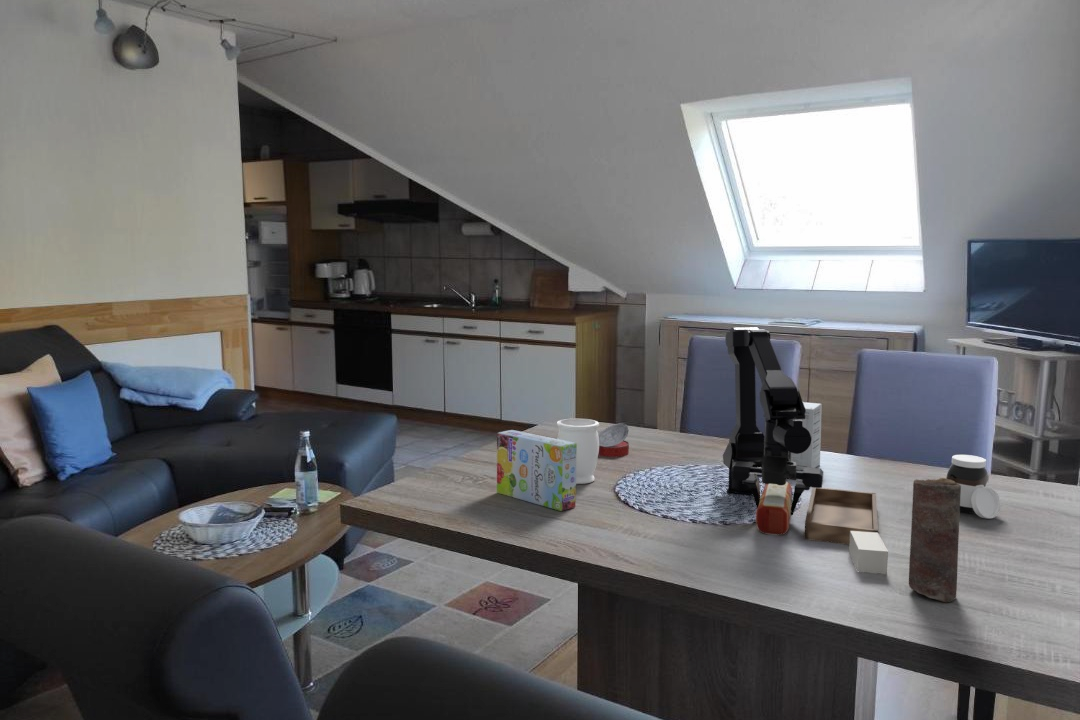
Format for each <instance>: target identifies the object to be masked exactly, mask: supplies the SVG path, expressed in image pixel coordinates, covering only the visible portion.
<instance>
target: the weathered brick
mask: <svg viewBox="0 0 1080 720" xmlns="http://www.w3.org/2000/svg"><path fill="white" fill-rule="evenodd" d="M912 486H913V487H912V505H911V506H912V509H911V510H912V511H911V513H912V514H911V529H910V531H911V532H910V547H909V550H910V551H909V562H908V563H909V567H908V570H909V571H908V586H909V588H910V589H911V590H913V591H916V592H917V593H918V594H920V595H923V596H925V597H927V598H929V599H933V600H936V601H940V602H941V603H942V602H943V603H951V602H953V601H954V600H955V599H956V598H957V589H958V585H957V584H958V564H959V563H958V561H959V560H958V559H959V539H960V538H959V536H960V535H959V534H960V518H961V517H960V514H961V512H960V495H961V485H960V484H958V483H955V481H952V480H950V479H946V477H940V478H937V479H914V480H913V483H912Z"/></svg>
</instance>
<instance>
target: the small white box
mask: <svg viewBox="0 0 1080 720" xmlns="http://www.w3.org/2000/svg"><path fill="white" fill-rule="evenodd" d="M848 546H849V547H848V553H849V555H851V556H850V558H851V560H852V562H854V563H853V565H854V568H855V570H856V569H857V570H856V572H857V571H859V572H858V573H864V572H870V573H869V574H877V573H883V574H882V575H888V563H889V562H888V561H889V550H888V549H887V547H886V545H885V543H884V541H883V539H882V538H881V535H880V534H879V532H878V533H875V532H861V531H850V543H849V545H848ZM884 573H885V574H884Z"/></svg>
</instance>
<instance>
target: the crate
mask: <svg viewBox="0 0 1080 720" xmlns="http://www.w3.org/2000/svg"><path fill="white" fill-rule="evenodd" d="M877 503H878V502H877V493H876V492H870V491H869V492H868V491H858V490H849V489H837V488H829V487H822V488H815V487H811V493H810V497H809V502H808V507H807V511H806V516H805V521H804V533H803V534H804V537H803V539H804V540H809V541H817V542H824V543H832V544H840V545H848V544H849V543H850V531H861V532H875V533H878V534H879V525H878V523H879V522H878V506H877Z"/></svg>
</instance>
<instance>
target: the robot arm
mask: <svg viewBox="0 0 1080 720" xmlns="http://www.w3.org/2000/svg"><path fill="white" fill-rule="evenodd" d="M725 345H726V347H727V354H728V356H729V357H730V359H731V360H732V363H733V364H734V376H735V380H734V381H735V383H734V384H735V385H734V388H735V389H734V390H735V426H734V427H733V429H732V431H731V433H730V434H729V439H728V443H727V446H726V448H725V450H724V452H723V454H722V463H723V465H724V466H726V467H727V468H728V483H727V484H728V486H727V487H728V488H727V489H726V492H727V493H731V492H736V493H735V494H740V493H746V494H745V495H750V494H753V495H752V497H753V499H754V504H755V507H756V509H757V508H758V506H759V503H760V499H761V490H760V489H761V487H760V486H761V484H760V477H761V482H762V484H764V485H765V484H777V485H785V484H786V482H787V480H792V481H796V482H795V485H794V490H793V494H792V504H791V514H790V516H793V515H794V513H795V510H796V507H797V505H798V502H799V500H800V498H801V497H802V494H803V493H804V491H809V490H810V489H811V488H812V487H815V488H823V484H824V471H823V470H822V468H817V467H816V468H807V467H804V470H802V471H801V470H798V471H797V469H796V467H797V466H796V462H791V456H792V453H794V454H799V453H803V452H805V451H806V450H807V449H808V448H809V446H810V444H811V435H810V433H809V431H808V430H807V429H806V428H804V427H803V426H802V425H803V421H802V420H800V419H805V412H806V410H805V407H804V404H803V402H804V400H803V398H802V396H801V393H800V391H799V389H798V387H797V386H796V384H795V382H794V380H793V379H792V378H791V377H790V376H789V375H787V374H785V373H784V371H783V369H782V367H781V364H780V362H779V360H778V357H777V354H776V352H775V350H774V347H773V345H772V342H771V332H770V331H769V330H767V329H765V328H764V329H761V328H758V327H757V326H756V327H754V326H751V327H750V326H749V327H744V326H743V327H739V326H737V327H735V326H733V327H731V328H730V330H729V331H727V332H726V334H725ZM756 371H757V373H758V376H759V379H760V381H761V387H760V390H759V403H760V405H761V408H762V411H763V417H764V433H763V432H761V430H760V429H759V427H758V426H757V399H756V398H757V397H756V396H757V393H756V392H757V388H756V387H757V386H756ZM794 409H795V410H796V411H793V410H794Z"/></svg>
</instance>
